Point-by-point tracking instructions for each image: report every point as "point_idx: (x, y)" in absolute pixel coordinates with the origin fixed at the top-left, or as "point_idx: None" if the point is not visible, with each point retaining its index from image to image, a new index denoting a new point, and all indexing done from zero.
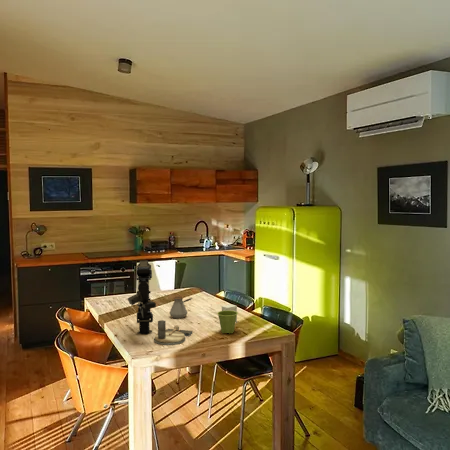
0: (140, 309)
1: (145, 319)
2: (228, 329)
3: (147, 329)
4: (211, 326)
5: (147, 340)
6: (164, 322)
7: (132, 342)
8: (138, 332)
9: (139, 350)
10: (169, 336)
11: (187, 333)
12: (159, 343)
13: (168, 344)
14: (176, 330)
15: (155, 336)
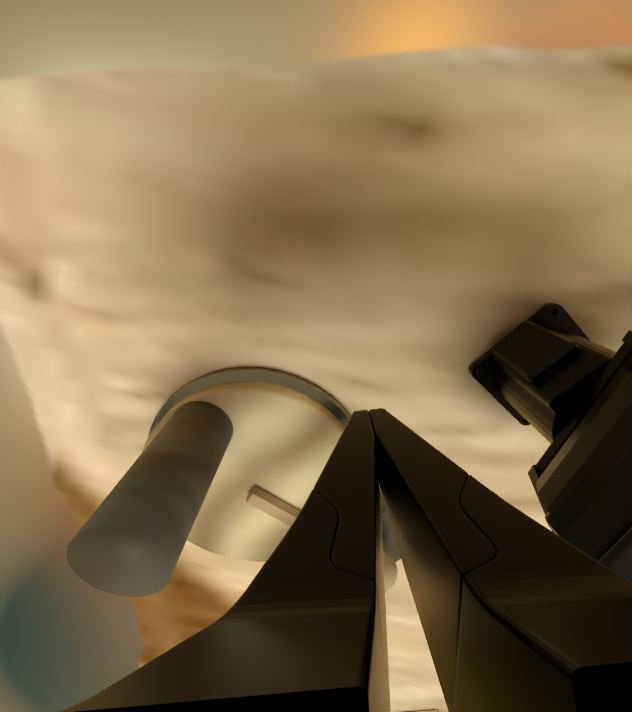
0: (529, 528)
1: (566, 441)
2: None
3: (510, 396)
4: (406, 671)
5: (314, 331)
6: (89, 572)
7: (312, 192)
8: (549, 317)
9: (63, 196)
10: (226, 480)
11: None
12: (185, 386)
13: (152, 430)
14: (383, 548)
15: (262, 398)
